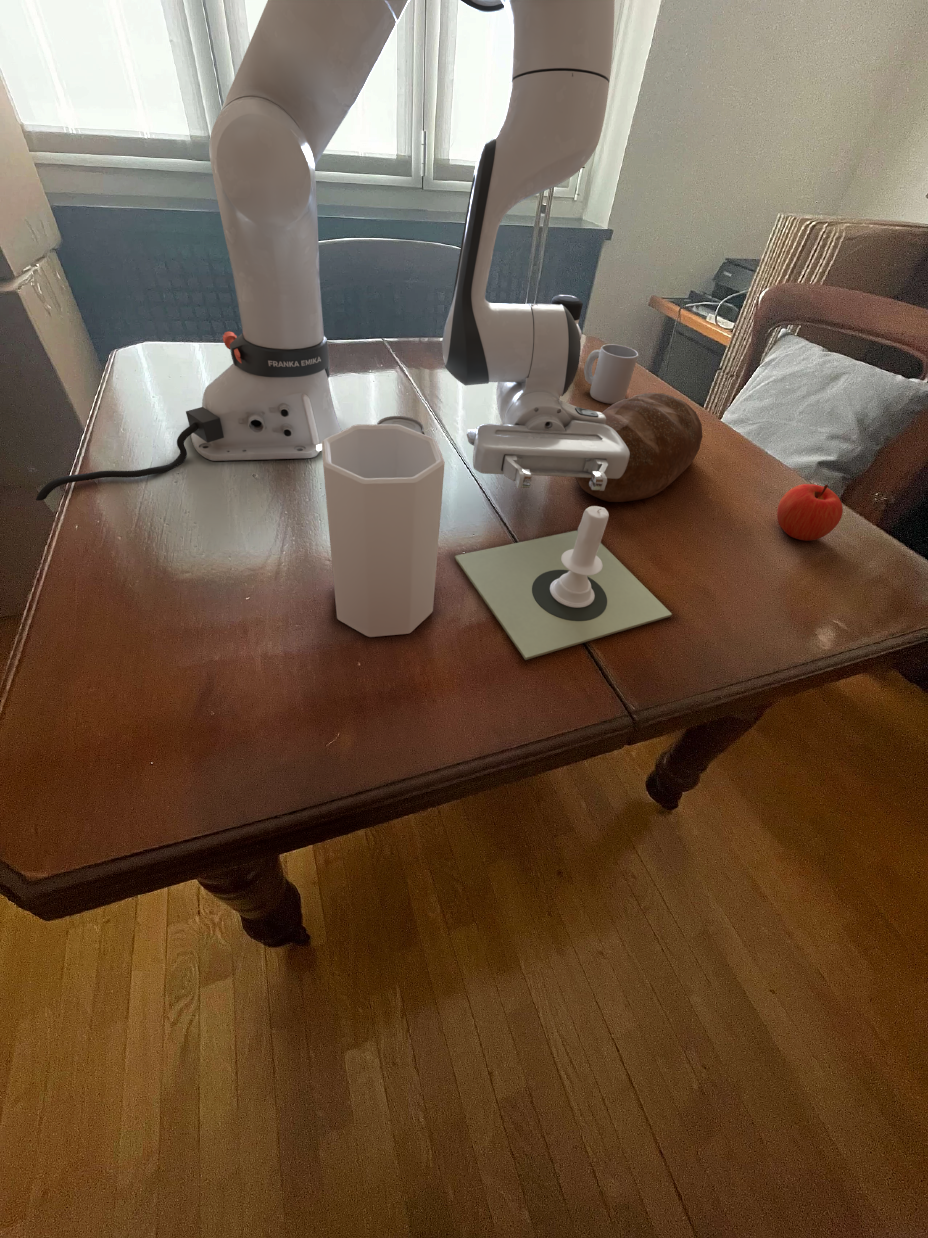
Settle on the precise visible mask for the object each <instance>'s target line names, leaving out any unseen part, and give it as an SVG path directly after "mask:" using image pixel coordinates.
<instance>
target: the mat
mask: <svg viewBox="0 0 928 1238" xmlns="http://www.w3.org/2000/svg"><path fill="white" fill-rule="evenodd" d="M577 537H578V529H577V530H572V531H567V532H563V533H558V534H553V535H548V536H544V537H539V538H534V539H530V540H525V541H519V542H515V543H511V544H510V543H509V544H505V545H501V546H496V547H490V548H485V549H480V550H475V551H471V552H466V553H462V554H457V555H455V556H454V559H455V561H456V562H457V564H458V565H459V566H460V568H461V569H462V571H463V572H464V574H465V575H466V576H467V578H468V579H469V581H470V583H471V584H472V585H473V586H474V588H475V589H476V591H477V592H478V594H479V595H480V597H481V598H482V600H483V601H484V603H485V604H486V605H487V607H488V609H489V610H490V611H491V613H492V614H493V615H494V617H495V619H496V620H497V621H498V623H499V625H500V626H501V627H502V629H503V630H504V632H505V633H506V635H507V636H508V637H509V639H510V640H511V642H512V643H513V644H514V646H515V648H516V649H517V651H518V652H519V654H520V655H521V656H522V658H523V659H524V661H528V660H530V659H531V660H532V659H534V658H537V657H541V656H544V655H547V654H551V653H553V652H554V653H555V652H556V651H560V650H561V651H562V650H565V649H567V648H571V647H575V646H577V645H580V644H584V643H587V642H590V641H594V640H597V639H600V638H604V637H606V636H610V635H613V634H617V633H620V632H624V631H627V630H630V629H633V628H638V627H641V626H643V625H647V624H650V623H654V622H657V621H660V620H664V619H667V618H671V617H672V615H673V613H672V612H671V611H670V610H669V609H668V608H667V607H666V606H665V605H664V604H663V603H662V602H661V601H660V600H659V599H658V598H656V596H655V595H654V594H653V593H652V592H651V591H649V589H648V588H647V587H645V585H643V583H642V582H641V581H640V580H638V578H637V577H636V576H635V575H634V574H633V573H632V572H631V571H630V570H629V569H628V568H627V567H626V566H625V565H624V564H622V562H621V561H620V560H618V559H617V557H616V556H615V555H613V553H612V552H611V551H610V550H609V549H608V548H607V547H606V546H605V545H604V544H603V543H602V541H601V542H600V545H599V548H598V551H597V554H596V556H598V557H599V558H600V560H601V561H602V565H603V567H602V570H601V571H600V572H599V573H597V574H594V575H587V578H588V580H589V581H590V583H591V588H592V590H593V591H594V595H595V597H594V600H593V602H592V603H591V604H590V605H588V606H586V607H581V608H574V607H569V606H565V605H563V604H561V603H559V602H558V601H557V600H555V599H554V597H553V596H552V595H551V592H550V585H551V583H552V582H553V581H554V580H556V579H558V578H560V577H561V576H562V575H563V574H565V573H568V572H569V571H570V570H568V569H567V568H566V567H565V566H564V565H563V563H562V561H561V556H562V554H563V553H564V552H566V551H567V550H571V549H574V547H575V543H576V540H577Z"/></svg>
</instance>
